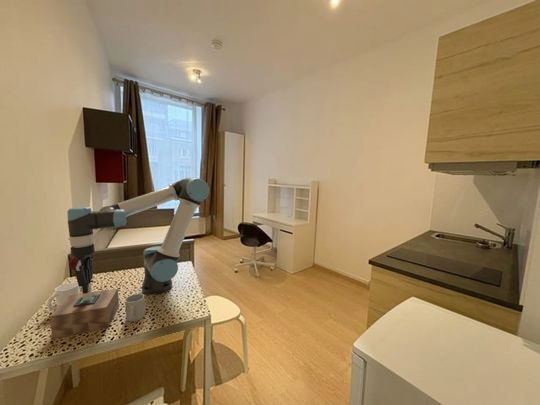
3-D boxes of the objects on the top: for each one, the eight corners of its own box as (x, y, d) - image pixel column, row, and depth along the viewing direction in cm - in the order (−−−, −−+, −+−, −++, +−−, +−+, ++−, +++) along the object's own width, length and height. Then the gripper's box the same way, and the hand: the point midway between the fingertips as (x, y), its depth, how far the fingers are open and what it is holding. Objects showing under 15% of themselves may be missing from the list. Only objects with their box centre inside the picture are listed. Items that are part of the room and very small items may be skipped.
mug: (54, 318, 97) (51, 296, 96) (42, 314, 100) (40, 292, 99) (84, 304, 108) (82, 283, 107) (73, 300, 111) (71, 281, 110)
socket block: (119, 306, 107) (117, 287, 106) (108, 327, 92) (106, 305, 91) (71, 314, 100) (69, 294, 99) (52, 338, 85) (49, 314, 84)
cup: (147, 310, 103) (146, 292, 102) (141, 324, 94) (139, 304, 93) (129, 313, 102) (128, 294, 100) (121, 327, 92) (119, 307, 91)
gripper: (78, 241, 97) (83, 293, 100) (63, 250, 85) (69, 309, 88) (99, 239, 100) (103, 290, 102) (87, 248, 88) (92, 305, 90)
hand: (87, 298), depth 95 cm, fingers closed
